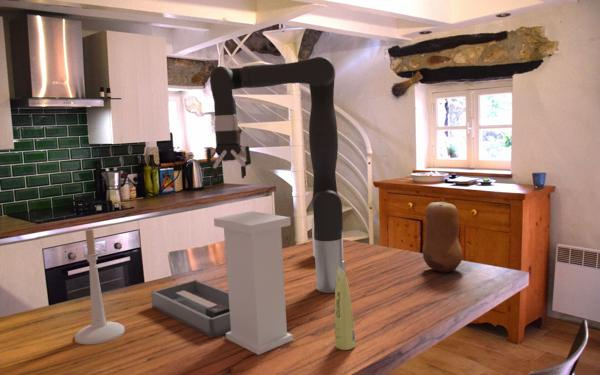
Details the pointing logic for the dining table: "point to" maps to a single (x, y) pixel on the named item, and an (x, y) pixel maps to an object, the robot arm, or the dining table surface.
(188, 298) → the plug rod
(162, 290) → the bin
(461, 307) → the dining table surface
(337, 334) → the tube
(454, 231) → the butternut squash
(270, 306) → the stand
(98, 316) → the candlestick
